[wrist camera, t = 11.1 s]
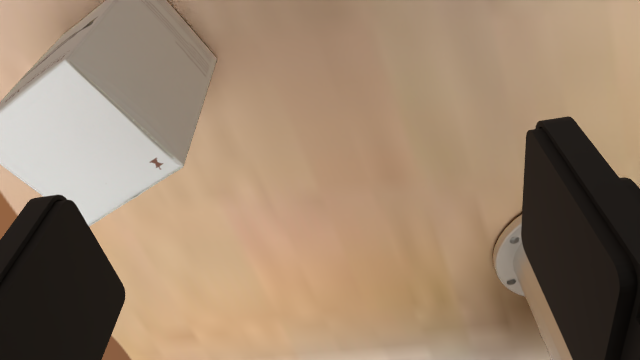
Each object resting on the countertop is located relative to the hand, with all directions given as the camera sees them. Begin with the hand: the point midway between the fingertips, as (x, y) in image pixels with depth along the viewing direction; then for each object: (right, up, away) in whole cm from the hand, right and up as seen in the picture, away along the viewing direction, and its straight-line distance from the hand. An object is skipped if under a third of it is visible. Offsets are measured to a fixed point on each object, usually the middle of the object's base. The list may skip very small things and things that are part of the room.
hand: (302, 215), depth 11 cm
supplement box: (-12, +10, +24) cm, 29 cm away
